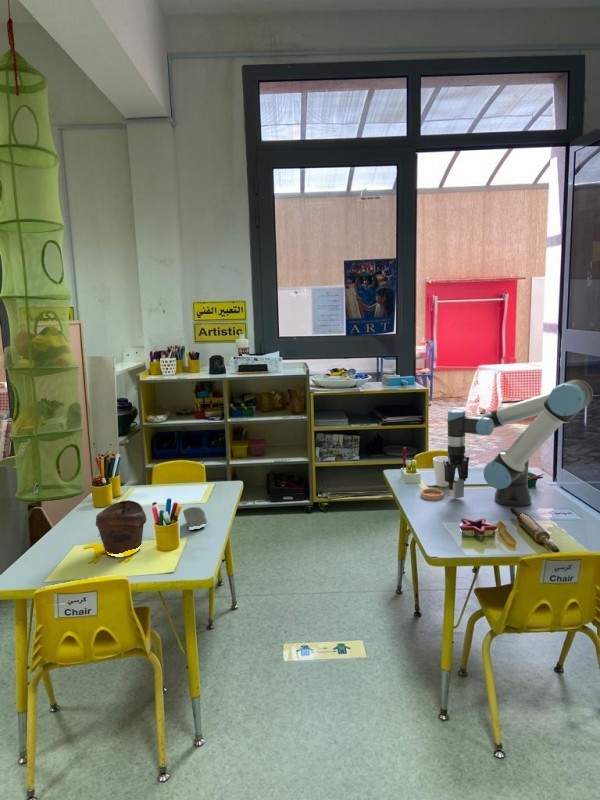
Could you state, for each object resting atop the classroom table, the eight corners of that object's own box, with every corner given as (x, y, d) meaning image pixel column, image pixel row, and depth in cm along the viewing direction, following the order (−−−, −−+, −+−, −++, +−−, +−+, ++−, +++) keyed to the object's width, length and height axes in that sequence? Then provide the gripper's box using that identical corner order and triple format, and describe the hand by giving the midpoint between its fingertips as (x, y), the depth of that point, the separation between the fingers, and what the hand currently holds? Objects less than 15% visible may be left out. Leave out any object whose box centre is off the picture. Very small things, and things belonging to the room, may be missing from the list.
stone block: (463, 496, 249) (463, 479, 247) (456, 498, 247) (456, 481, 246) (455, 493, 253) (455, 476, 252) (449, 495, 251) (449, 478, 250)
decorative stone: (203, 534, 221) (211, 510, 225) (176, 525, 221) (186, 501, 224) (203, 537, 233) (211, 514, 237) (178, 529, 233) (187, 506, 236)
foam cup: (429, 482, 274) (429, 457, 272) (445, 480, 277) (446, 455, 274) (439, 488, 265) (439, 462, 263) (456, 486, 268) (457, 460, 266)
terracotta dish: (448, 497, 253) (448, 493, 253) (430, 501, 249) (430, 497, 248) (433, 491, 262) (433, 487, 262) (416, 495, 258) (416, 490, 257)
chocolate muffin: (136, 534, 222) (131, 492, 219) (157, 551, 207) (153, 506, 203) (91, 548, 211) (85, 504, 208) (110, 567, 196) (104, 519, 192)
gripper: (464, 440, 253) (464, 489, 257) (435, 446, 246) (436, 496, 249) (477, 443, 247) (476, 494, 250) (447, 449, 239) (447, 501, 243)
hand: (456, 495), depth 250 cm, fingers closed on stone block, 4 cm apart
